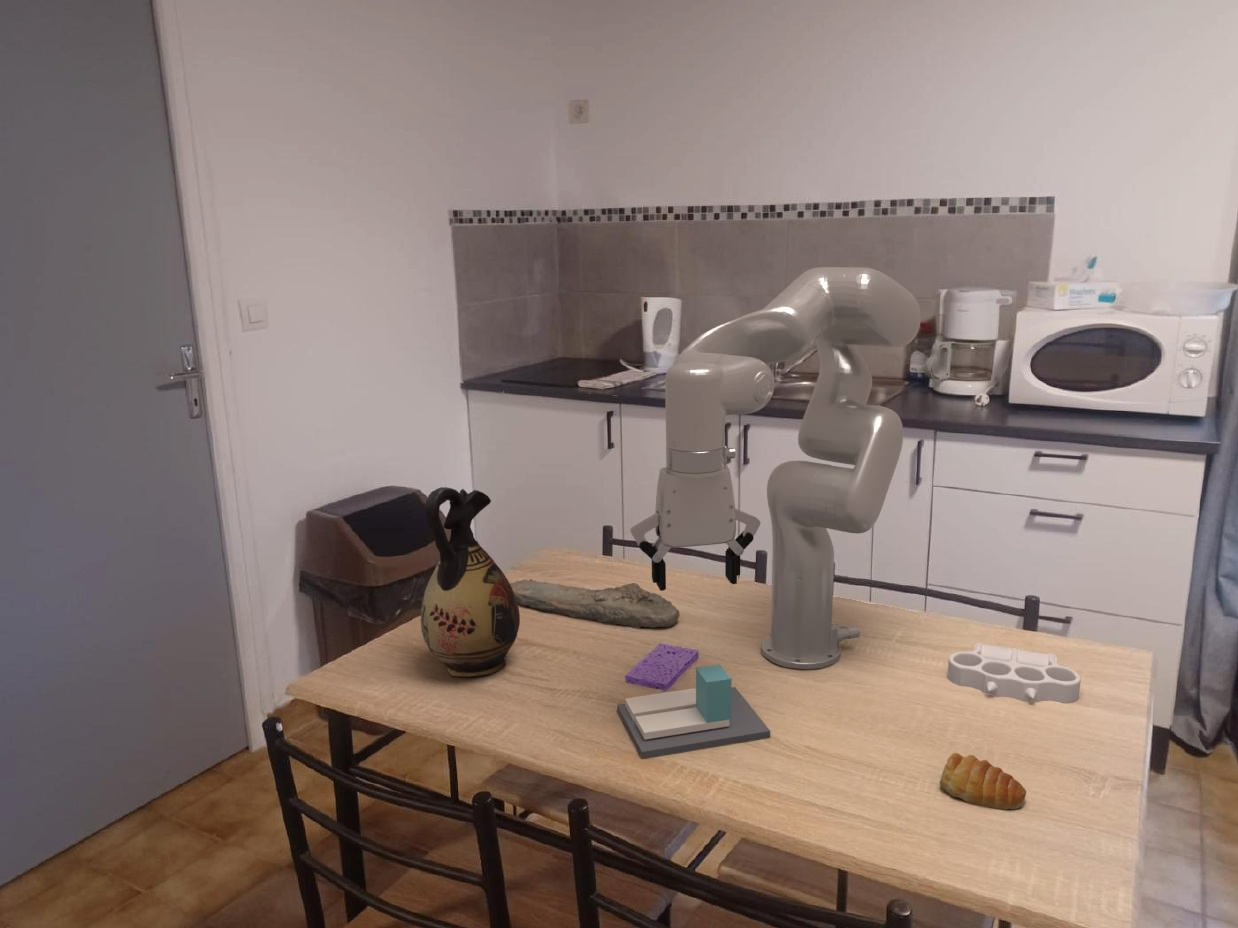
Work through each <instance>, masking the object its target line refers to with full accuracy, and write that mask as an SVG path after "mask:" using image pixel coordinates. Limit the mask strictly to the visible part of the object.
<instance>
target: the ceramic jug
mask: <svg viewBox="0 0 1238 928" xmlns="http://www.w3.org/2000/svg"><path fill="white" fill-rule="evenodd" d="M447 501H449V509H448V512H447V515H446V518H445V521H444V522H443V523H442V519H441V518H440V508H441V506H442V504H445V503H446V502H447ZM491 502H492V500H491V498H490V497H489V496H488V495H487V494H486V493H484V492H483V491H480V490H477V489H474V490H472V491H470V492H467V491H466V490H465V489H464V488H461V490H459V491H458V490H457V489H454V488H452V487H451V488H450V487H447V486H446V487H444V486H442V487H441V486H440V487H439V488H435V490H433V491H431V492H430V493H429V494H428V496H427V499H426V501H425V518H426V523H427V526H428V527H429V531H430V532H431V537H433V540H434V542H435V546H436V549H437V550H438V552H439V561H438V563H437V564H436V565H435V569H434V570H433V572H432V575H430V578H429V579H428V582H427V585H426V587H425V590H424V592H423V597H422V602H421V608H420V609H421V611H420V627H421V633H422V637H423V641H424V642H425V644H426V645H427V647H428V649H429V651H430V652H431V653H432V654H433V655H434V656H436V658H438V659H439V660H440V662H441V663H443V664H444V666H445V667H446V669H447V671H448V674H449V675H451V677H465V678H466V677H478V676H479V677H480V676H487V675H491V674H493V673H495V672H498V671H500V670H501V669H503V668H505V666H506V657H507V654H508V653H509V651H510V650H511V648H512V647H513V645H514V644H515V641H516V639H517V637H518V632H519V630H520V624H521V617H520V616H521V615H520V608H519V604H517V601H516V598H515V594H514V592H513V590H512V587H511V585H510V581H509V580H508V577H506V576H507V575H505V573H504V572H503V571H502V569H501V568H500V567H499V565H498V564H497V563H496V562H495V560H494V558H492V556H491V555H490V554H489V553H488V552H487V551H486V550H485V549H484V548H483V547H482V546H481V545H480V543H479V542H478V541H477V540H476V538H475V537H474V532H473V530H472V528H471V526H472V525H471V524H472V521H473V520H474V519H475V517H476V516H477V515H478V514H479V513H480V512H481V511H483V510H484V509H485V508H486V507H487V506H489V505H490V504H491ZM445 529H446V530H450V537H449V539H448V537H447V534H446V531H445Z"/></svg>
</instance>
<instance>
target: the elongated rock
mask: <svg viewBox="0 0 1238 928" xmlns="http://www.w3.org/2000/svg"><path fill="white" fill-rule="evenodd" d="M509 583H510V582H509ZM510 585H511V587H512V590H513V592H514V594H515V598H516V601H517V604H518V605H521V606H523V607H529V608H533V609H536V610H539V611H542V612H544V613H546V612H551V613H554V612H555V614H557V613H558V614H559V615H560V614H562V616H567V617H570V618H582V619H589V618H590V619H591V621H593V620H597V621H598V622H601V623H607V624H612V625H613V624H618V625H621V626H622V625H623V626H627V627H632V628H637V627H638V629H640V628H641V627H645V628H652V629H653V628H658V627H659V628H664V627H665V628H666V627H671V626H673V625H674V624H675V623H676V622H677V621H678V620H679V618H680V611H679V609H678V608H677V606H675V605H673V604H672V601H671V600H667V599H666V598H665V597H662V596H661V595H660V594H657V593H654V592H650V591H647V590H646V589H643V588H642V587H640V585H639V584H638V583H636V582H631V583H628V584H627V583H625V584H623V585H621V586H616V587H615V588H613V587H606V588H604V589H590V588H585V587H578V586H572V585H564V584H561V583H560V584H558V583H552V582H546V581H538V580H533V579H529V580H527V579H522V580H516V581H514V582H513V583H510ZM590 619H589V620H590ZM639 627H640V628H639Z"/></svg>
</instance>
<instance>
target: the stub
mask: <svg viewBox="0 0 1238 928" xmlns="http://www.w3.org/2000/svg"><path fill="white" fill-rule="evenodd" d="M731 687H732V677H731V676H730V675H729V674H728V672H727V671H726V670H725V669H724V667H723V666H722V665H721V664H714V665H707V666H700V667H695V688H696V707H695V708H689V709H683V710H676V711H670V712H663V713H657V714H650V715H644V716H637V717H635V721H636V725H637V727H638V729H639V731H640V732H641V734H642V736H643V738H644V740H646V739H652V738H658V737H664V736H670V735H677V734H683V733H689V732H695V731H702V730H708V729H714V728H720V727H727V726H729V719H731Z"/></svg>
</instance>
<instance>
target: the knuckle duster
mask: <svg viewBox="0 0 1238 928" xmlns="http://www.w3.org/2000/svg"><path fill="white" fill-rule="evenodd" d="M1057 658H1058V657H1057V655H1055V653H1050V652H1049V653H1041V652H1035V651H1030V650H1023V649H1018V648H1016V647H1012V648H1010V647H1003V646H999V645H991V644H984V643H982V642H976V643H975V645H974V650H971V651H958V652H954V653H952V654H950V656H949V657H948V664H947V678H948V680H949V681H950V682H951V683H952V684H955V685H956V686H958V687H967V688H972V689H975V690H978V691H980V692H981V693H983V694H985V695H986V694H987V695H990V696H994V697H997V698H1001V697H1002V698H1012V699H1015V700H1018V701H1021V702H1029V703H1030V702H1031V703H1032V702H1033V703H1039V702H1044V701H1048V702H1049V701H1050V702H1051V701H1052V702H1057V703H1060V704H1071V703H1074V702H1077V701H1079V699H1080V690H1081V680H1082V679H1081V676H1080V674H1079V673H1078V672H1076V671H1075V670H1073V669H1071V668H1069V667H1066V666H1063V665H1060V664H1058V663H1057Z"/></svg>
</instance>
